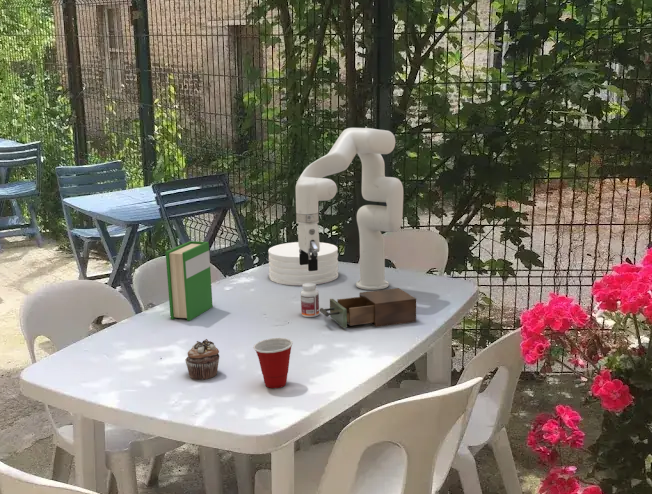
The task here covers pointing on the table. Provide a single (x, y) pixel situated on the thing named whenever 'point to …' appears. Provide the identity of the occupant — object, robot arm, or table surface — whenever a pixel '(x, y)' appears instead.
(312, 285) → the pill bottle
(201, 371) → the cupcake
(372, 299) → the cabinet
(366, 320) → the drawer
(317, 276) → the plate stack
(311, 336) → the table surface
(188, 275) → the hardback book
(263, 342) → the plastic cup
